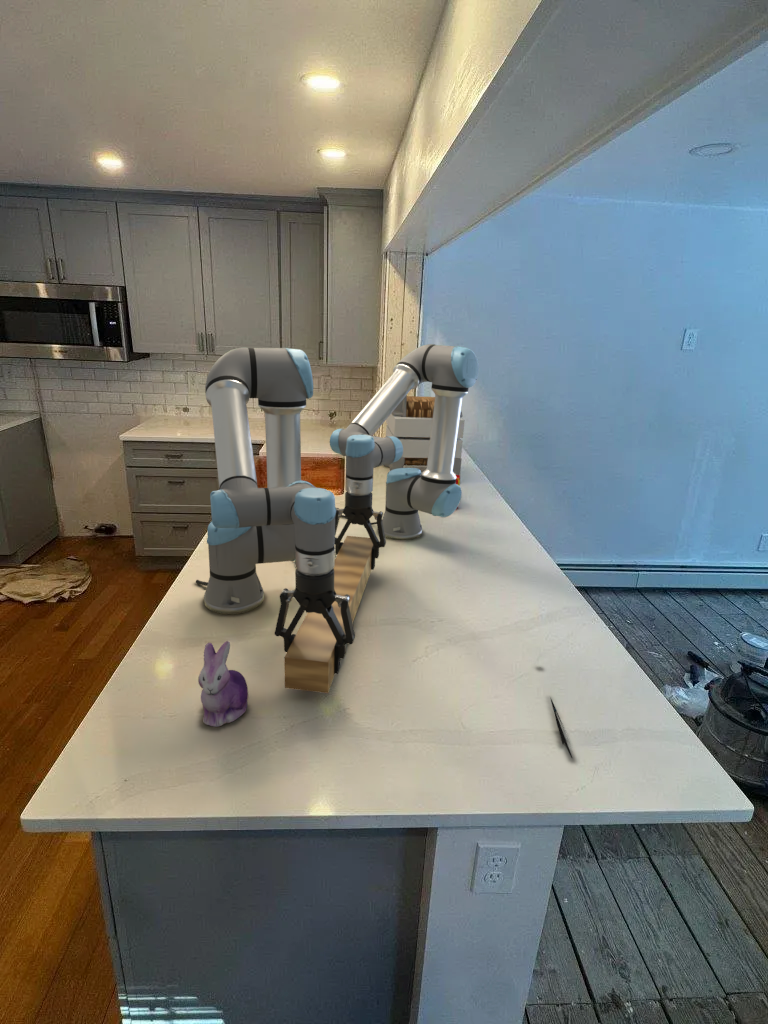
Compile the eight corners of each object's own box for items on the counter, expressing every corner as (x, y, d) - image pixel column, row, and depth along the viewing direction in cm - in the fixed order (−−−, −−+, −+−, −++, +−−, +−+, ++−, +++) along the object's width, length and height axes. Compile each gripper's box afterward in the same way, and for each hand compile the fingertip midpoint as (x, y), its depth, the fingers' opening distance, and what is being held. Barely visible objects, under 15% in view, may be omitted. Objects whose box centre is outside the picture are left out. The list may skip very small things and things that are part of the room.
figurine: (205, 736, 103) (200, 666, 98) (195, 702, 111) (189, 636, 106) (256, 721, 107) (254, 653, 102) (243, 690, 116) (239, 626, 111)
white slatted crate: (382, 463, 289) (386, 382, 275) (445, 464, 293) (451, 384, 279) (390, 482, 257) (394, 392, 243) (460, 483, 261) (468, 394, 247)
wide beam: (346, 557, 171) (346, 535, 168) (374, 560, 170) (375, 538, 167) (284, 688, 111) (284, 657, 109) (328, 693, 110) (328, 662, 108)
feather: (540, 672, 128) (545, 666, 127) (572, 762, 101) (579, 755, 101) (533, 668, 128) (539, 662, 127) (564, 758, 101) (571, 750, 100)
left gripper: (254, 571, 107) (258, 672, 115) (366, 582, 105) (363, 684, 112) (267, 555, 114) (270, 651, 122) (372, 565, 112) (369, 662, 119)
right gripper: (317, 492, 154) (317, 568, 161) (396, 499, 151) (392, 575, 159) (323, 484, 161) (323, 557, 168) (399, 490, 158) (395, 564, 166)
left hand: (314, 667), depth 117 cm, fingers closed on wide beam, 9 cm apart
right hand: (356, 566), depth 164 cm, fingers closed on wide beam, 9 cm apart
